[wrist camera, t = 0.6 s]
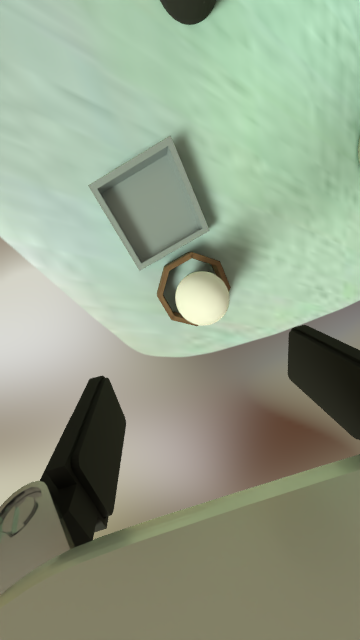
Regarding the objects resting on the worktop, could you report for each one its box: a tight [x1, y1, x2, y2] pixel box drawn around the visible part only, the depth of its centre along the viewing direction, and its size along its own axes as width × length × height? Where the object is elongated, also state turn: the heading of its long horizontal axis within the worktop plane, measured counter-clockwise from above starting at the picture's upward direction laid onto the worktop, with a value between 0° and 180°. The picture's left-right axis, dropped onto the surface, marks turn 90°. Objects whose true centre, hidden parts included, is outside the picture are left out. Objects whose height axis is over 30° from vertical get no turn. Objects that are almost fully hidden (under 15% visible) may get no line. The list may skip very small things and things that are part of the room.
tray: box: [88, 136, 210, 271], centre depth 24 cm, size 11×11×3 cm
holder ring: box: [157, 252, 231, 326], centre depth 29 cm, size 10×10×2 cm
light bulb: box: [175, 271, 229, 325], centre depth 25 cm, size 7×7×11 cm
